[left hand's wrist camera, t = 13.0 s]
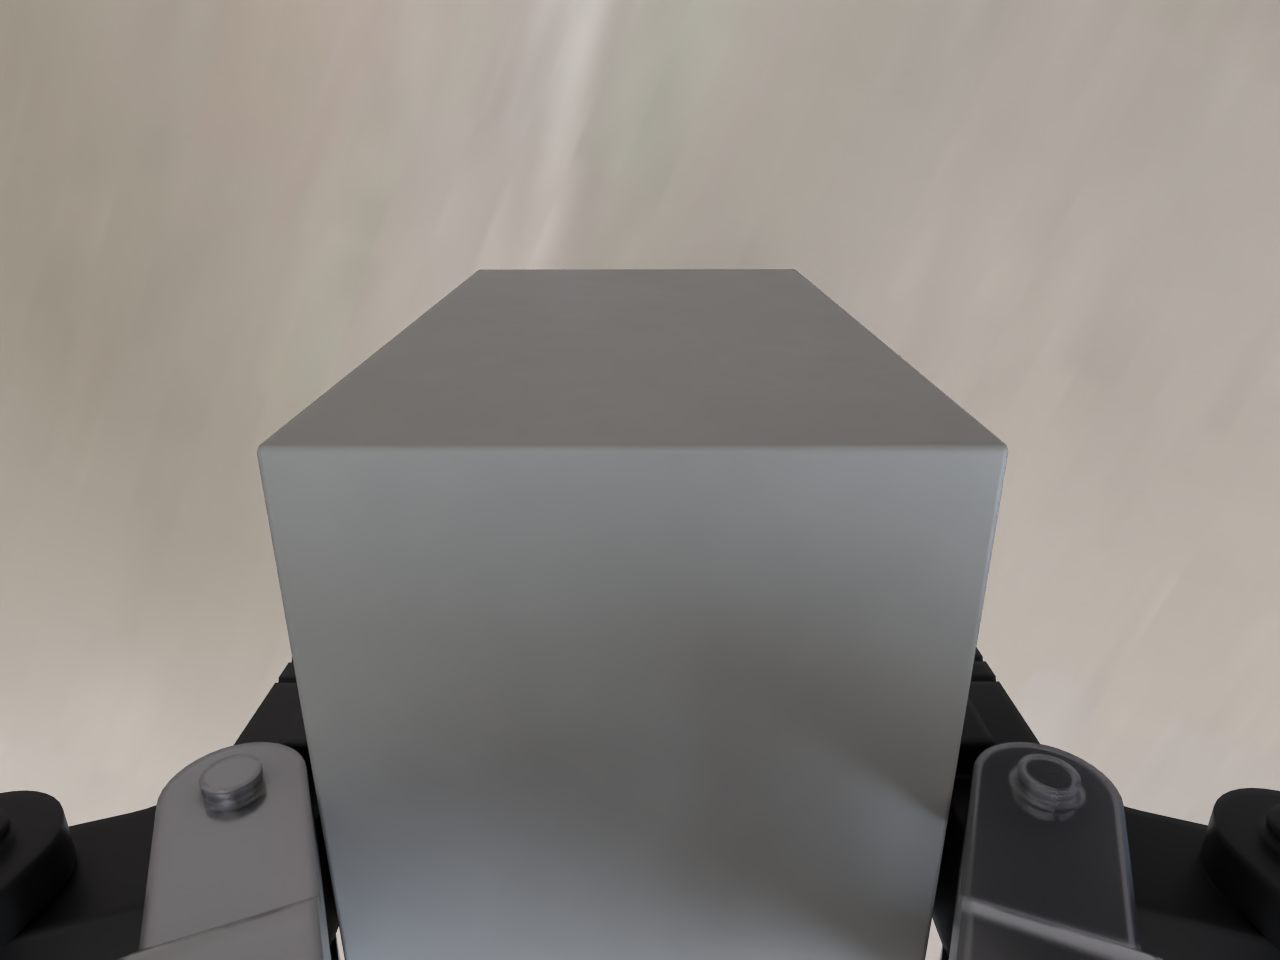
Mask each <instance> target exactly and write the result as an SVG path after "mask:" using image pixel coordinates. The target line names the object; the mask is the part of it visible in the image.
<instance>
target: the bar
mask: <svg viewBox="0 0 1280 960" xmlns="http://www.w3.org/2000/svg"><path fill="white" fill-rule="evenodd" d="M257 456H258V462H259V468H260V473H261V479H262V485H263V491H264V496H265V502H266V508H267V514H268V519H269V525H270V531H271V537H272V542H273V548H274V554H275V560H276V565H277V571H278V577H279V583H280V588H281V594H282V600H283V606H284V611H285V617H286V623H287V629H288V634H289V640H290V646H291V652H292V658H293V663H294V669H295V675H296V681H297V686H298V692H299V698H300V704H301V709H302V715H303V721H304V727H305V732H306V738H307V744H308V750H309V755H310V761H311V767H312V773H313V778H314V784H315V790H316V796H317V801H318V807H319V813H320V819H321V824H322V830H323V836H324V842H325V848H326V853H327V859H328V865H329V871H330V876H331V882H332V888H333V894H334V899H335V905H336V911H337V917H338V922H339V928H340V934H341V940H342V945H343V951H344V957H345V960H925V956H926V950H927V944H928V938H929V932H930V926H931V920H932V913H933V907H934V901H935V895H936V889H937V883H938V877H939V871H940V865H941V859H942V852H943V846H944V840H945V834H946V828H947V822H948V816H949V810H950V804H951V798H952V791H953V785H954V779H955V773H956V767H957V761H958V755H959V749H960V743H961V737H962V730H963V724H964V718H965V712H966V706H967V700H968V694H969V688H970V682H971V676H972V670H973V663H974V657H975V651H976V645H977V639H978V633H979V627H980V621H981V615H982V609H983V602H984V596H985V590H986V584H987V578H988V572H989V566H990V560H991V554H992V548H993V541H994V535H995V529H996V523H997V517H998V511H999V505H1000V499H1001V493H1002V487H1003V480H1004V474H1005V468H1006V462H1007V456H1008V449H1007V445H1006V444H1005V443H1003V442H1002V441H1001V440H1000V439H999V438H997V437H996V436H995V435H994V434H993V433H991V432H990V431H989V430H988V429H987V428H985V427H984V426H983V425H982V424H981V423H979V422H978V421H977V420H976V419H975V418H973V417H972V416H971V415H970V414H969V413H967V412H966V411H965V410H964V409H962V408H961V407H960V406H959V405H958V404H956V403H955V402H954V401H953V400H952V399H950V398H949V397H948V396H947V395H946V394H944V393H943V392H942V391H941V390H940V389H938V388H937V387H936V386H935V385H934V384H932V383H931V382H930V381H929V380H928V379H926V378H925V377H924V376H923V375H922V374H920V373H919V372H918V371H917V370H916V369H914V368H913V367H912V366H911V365H910V364H908V363H907V362H906V361H905V360H904V359H902V358H901V357H900V356H899V355H898V354H896V353H895V352H894V351H893V350H891V349H890V348H889V347H888V346H887V345H885V344H884V343H883V342H882V341H881V340H879V339H878V338H877V337H876V336H875V335H873V334H872V333H871V332H870V331H869V330H867V329H866V328H865V327H864V326H863V325H861V324H860V323H859V322H858V321H857V320H855V319H854V318H853V317H852V316H851V315H849V314H848V313H847V312H846V311H845V310H843V309H842V308H841V307H840V306H839V305H837V304H836V303H835V302H834V301H833V300H831V299H830V298H829V297H828V296H827V295H825V294H824V293H823V292H822V291H820V290H819V289H818V288H817V287H816V286H814V285H813V284H812V283H811V282H810V281H808V280H807V279H806V278H805V277H804V276H802V275H801V274H800V273H799V272H798V271H796V270H794V269H701V270H479V271H477V272H476V273H474V274H473V275H472V276H471V277H469V278H468V279H467V280H466V281H464V282H463V283H462V284H461V285H459V286H458V287H457V288H456V289H454V290H453V291H452V292H451V293H449V294H448V295H447V296H446V297H444V298H443V299H442V300H441V301H439V302H438V303H437V304H436V305H434V306H433V307H432V308H431V309H429V310H428V311H427V312H426V313H424V314H423V315H422V316H421V317H419V318H418V319H417V320H416V321H414V322H413V323H412V324H411V325H409V326H408V327H407V328H406V329H404V330H403V331H402V332H401V333H399V334H398V335H397V336H396V337H394V338H393V339H392V340H391V341H389V342H388V343H387V344H386V345H384V346H383V347H382V348H381V349H379V350H378V351H377V352H376V353H374V354H373V355H372V356H371V357H369V358H368V359H367V360H366V361H364V362H363V363H362V364H361V365H359V366H358V367H357V368H356V369H354V370H353V371H352V372H351V373H349V374H348V375H347V376H346V377H344V378H343V379H342V380H341V381H339V382H338V383H337V384H336V385H334V386H333V387H332V388H331V389H329V390H328V391H327V392H326V393H324V394H323V395H322V396H321V397H319V398H318V399H317V400H316V401H314V402H313V403H312V404H311V405H309V406H308V407H307V408H306V409H304V410H303V411H302V412H301V413H299V414H298V415H297V416H296V417H294V418H293V419H292V420H291V421H289V422H288V423H287V424H286V425H284V426H283V427H282V428H281V429H279V430H278V431H277V432H276V433H274V434H273V435H272V436H271V437H269V438H268V439H267V440H266V441H264V442H263V443H262V444H261V445H259V447H258V451H257Z"/></svg>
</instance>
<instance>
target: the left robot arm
mask: <svg viewBox="0 0 1280 960" xmlns="http://www.w3.org/2000/svg"><path fill="white" fill-rule="evenodd" d="M932 918H933V920H934V923H935V926H936V928H937V931H938V934H939V936H940V939H941V942H942V949H941V955H940V960H1280V791H1276V790H1269V789H1260V788H1245V789H1237V790H1233V791H1230V792H1228V793H1225V794H1223V795H1222V796H1221V797H1220V798H1219V799H1218V800H1217V801H1216V803H1215V805H1214V808H1213V811H1212V814H1211V818H1210V821H1209V824H1208V826H1207V825H1203V824H1198V823H1194V822H1189V821H1184V820H1180V819H1175V818H1171V817H1166V816H1162V815H1157V814H1153V813H1148V812H1144V811H1140V810H1136V809H1132V808H1128V807H1125V806H1124V805H1123V802H1122V798H1121V796H1120V794H1119V792H1118V790H1117V789H1116V787H1115V786H1114V785H1113V783H1112V782H1111V781H1110V780H1109V779H1108V778H1107V777H1106V776H1105V775H1104V774H1103V773H1102V772H1100V771H1099V770H1098V769H1096V768H1095V767H1094V766H1092V765H1091V764H1089V763H1087V762H1086V761H1084V760H1083V759H1081V758H1079V757H1077V756H1075V755H1072V754H1070V753H1068V752H1065V751H1063V750H1060V749H1057V748H1054V747H1050V746H1047V745H1042V744H1040V743H1039V742H1038V740H1037V739H1036V737H1035V735H1034V734H1033V732H1032V731H1031V729H1030V728H1029V726H1028V725H1027V723H1026V722H1025V720H1024V719H1023V717H1022V716H1021V714H1020V713H1019V711H1018V710H1017V708H1016V707H1015V705H1014V704H1013V702H1012V701H1011V699H1010V698H1009V696H1008V694H1007V693H1006V691H1005V690H1004V688H1003V687H1002V685H1001V684H1000V682H996V676H995V675H994V673H993V672H992V670H991V669H990V667H989V666H988V664H987V663H986V662H983V657H982V655H981V654H980V652H979V650H978V649H977V647H976V651H975V657H974V663H973V670H972V676H971V682H970V688H969V694H968V700H967V706H966V712H965V718H964V724H963V730H962V737H961V743H960V749H959V755H958V761H957V767H956V773H955V779H954V785H953V791H952V798H951V804H950V810H949V816H948V822H947V828H946V834H945V840H944V846H943V852H942V859H941V865H940V871H939V877H938V883H937V889H936V895H935V901H934V907H933V913H932ZM338 927H339V922H338V917H337V911H336V905H335V899H334V894H333V888H332V882H331V876H330V871H329V865H328V859H327V853H326V848H325V842H324V836H323V830H322V824H321V819H320V813H319V807H318V801H317V796H316V790H315V784H314V778H313V773H312V767H311V761H310V755H309V750H308V744H307V738H306V732H305V727H304V721H303V715H302V709H301V704H300V698H299V692H298V686H297V681H296V675H295V669H294V663H293V658H292V663H288V665H287V666H286V668H285V669H284V671H283V672H282V674H281V675H280V677H279V682H278V683H275V684H274V686H273V687H272V689H271V690H270V692H269V693H268V695H267V696H266V698H265V699H264V701H263V702H262V704H261V705H260V707H259V708H258V710H257V711H256V713H255V714H254V716H253V717H252V719H251V720H250V722H249V723H248V725H247V726H246V728H245V729H244V731H243V732H242V734H241V735H240V737H239V738H238V740H237V741H236V743H235V744H234V745H233V746H230V747H226V748H223V749H220V750H217V751H215V752H212V753H210V754H208V755H205V756H203V757H201V758H199V759H197V760H196V761H194V762H193V763H191V764H189V765H188V766H186V767H185V768H184V769H182V770H181V771H180V772H178V773H177V774H176V775H175V776H174V777H173V778H172V779H171V780H170V781H169V782H168V783H167V785H166V786H165V787H164V789H163V790H162V792H161V794H160V796H159V798H158V802H157V805H156V806H153V807H150V808H147V809H144V810H140V811H136V812H132V813H128V814H124V815H119V816H115V817H110V818H106V819H101V820H97V821H92V822H88V823H83V824H78V825H74V826H69V827H68V824H67V821H66V818H65V814H64V811H63V808H62V806H61V804H60V802H59V801H57V800H56V799H55V798H54V797H52V796H50V795H48V794H45V793H41V792H37V791H12V792H5V793H0V960H340V955H339V949H338V943H337V938H336V932H337V929H338Z"/></svg>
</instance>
